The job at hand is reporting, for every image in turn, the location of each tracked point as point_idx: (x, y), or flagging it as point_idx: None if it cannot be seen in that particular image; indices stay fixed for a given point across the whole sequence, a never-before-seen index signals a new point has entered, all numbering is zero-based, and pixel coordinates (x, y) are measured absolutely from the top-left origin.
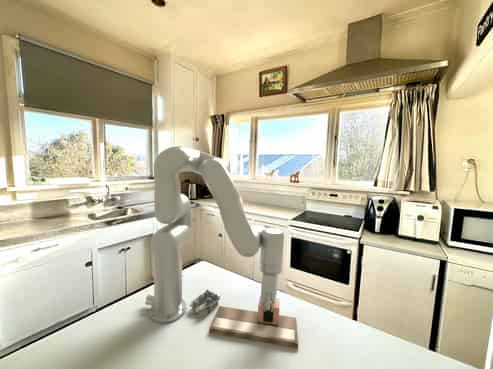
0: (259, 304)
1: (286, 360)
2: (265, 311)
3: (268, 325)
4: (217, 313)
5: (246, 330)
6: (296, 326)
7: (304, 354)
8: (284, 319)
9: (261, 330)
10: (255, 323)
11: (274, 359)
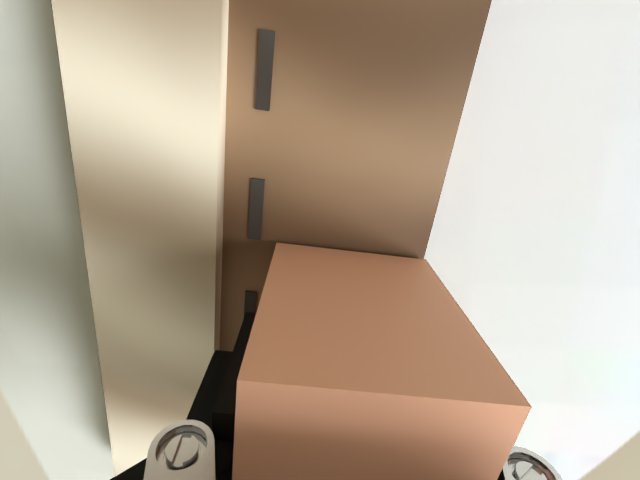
0: (261, 397)
1: (28, 393)
2: (172, 437)
3: None
4: None
5: (86, 128)
6: None
7: (107, 475)
8: None
9: (136, 284)
10: (250, 221)
11: (5, 332)
